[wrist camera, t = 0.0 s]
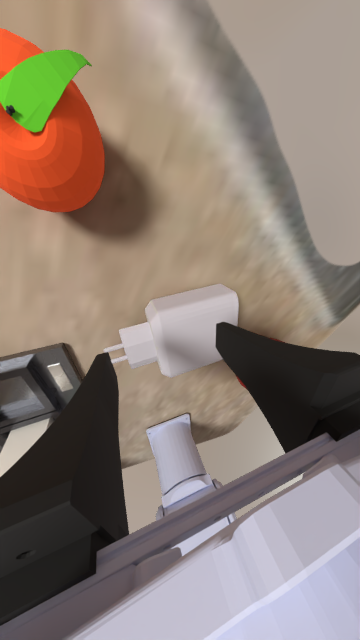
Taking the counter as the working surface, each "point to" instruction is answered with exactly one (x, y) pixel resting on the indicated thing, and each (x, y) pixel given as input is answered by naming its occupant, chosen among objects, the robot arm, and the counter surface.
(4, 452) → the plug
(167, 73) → the counter surface
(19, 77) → the clementine
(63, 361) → the dark grey compartment tray
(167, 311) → the charger
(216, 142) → the counter surface
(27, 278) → the counter surface
